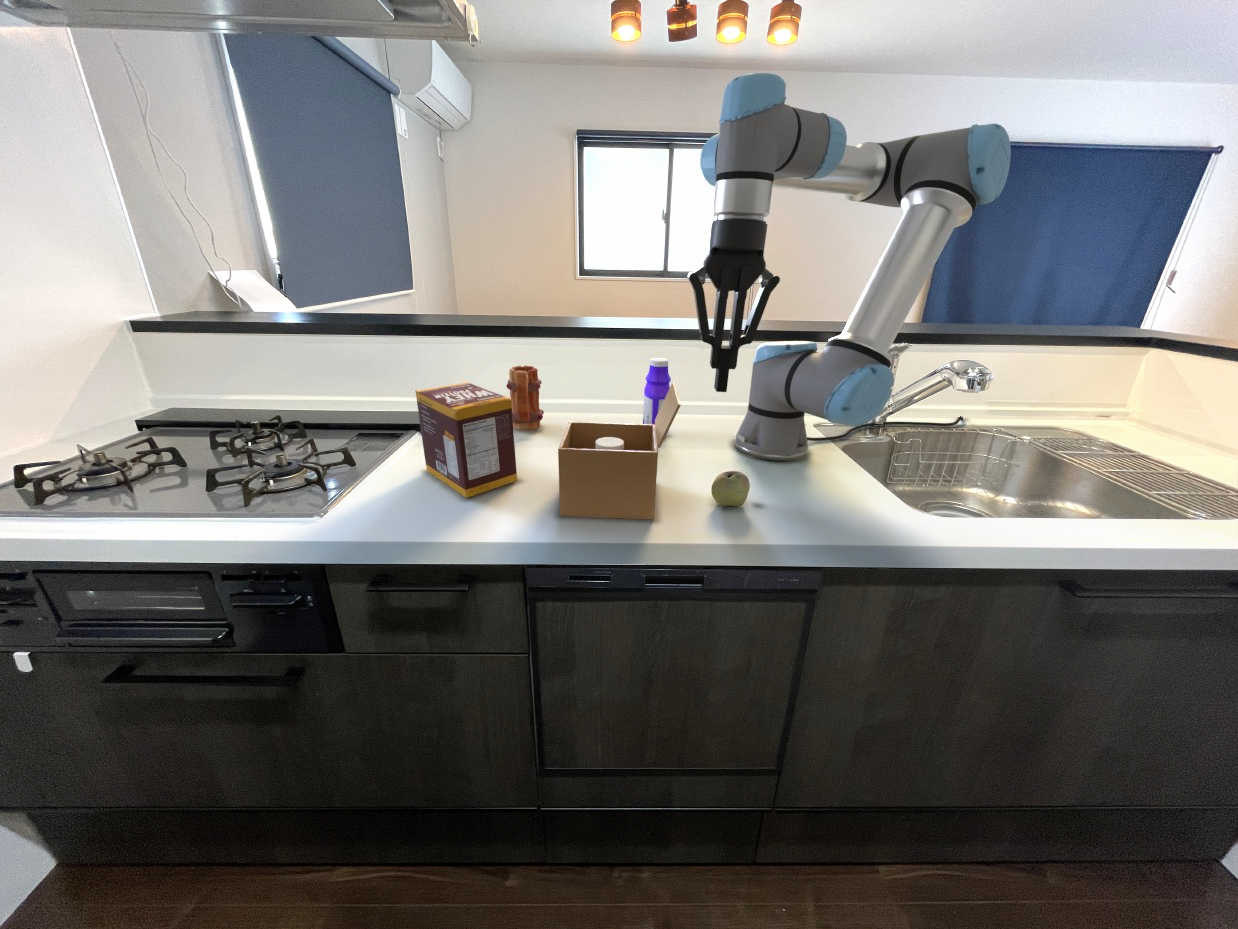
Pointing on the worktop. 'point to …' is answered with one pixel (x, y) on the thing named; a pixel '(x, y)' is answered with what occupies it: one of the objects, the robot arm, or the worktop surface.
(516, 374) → the mug
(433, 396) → the supplement box
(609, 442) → the pill bottle
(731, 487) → the apple
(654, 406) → the bottle
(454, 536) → the worktop surface
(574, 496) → the carton
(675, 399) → the flap
